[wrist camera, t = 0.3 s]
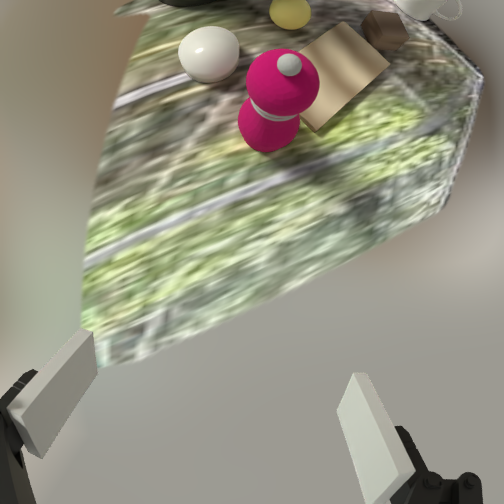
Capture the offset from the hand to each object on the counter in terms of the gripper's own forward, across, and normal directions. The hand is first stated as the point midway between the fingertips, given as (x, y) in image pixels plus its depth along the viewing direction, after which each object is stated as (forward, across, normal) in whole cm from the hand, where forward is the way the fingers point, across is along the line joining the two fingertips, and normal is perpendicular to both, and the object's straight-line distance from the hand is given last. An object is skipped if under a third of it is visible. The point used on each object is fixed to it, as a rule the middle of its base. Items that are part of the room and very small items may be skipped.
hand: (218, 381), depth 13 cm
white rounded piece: (+29, -8, +26) cm, 40 cm away
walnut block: (+31, +16, +37) cm, 51 cm away
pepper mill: (+29, +1, +16) cm, 33 cm away
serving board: (+30, +8, +27) cm, 41 cm away
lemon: (+31, +1, +35) cm, 46 cm away
